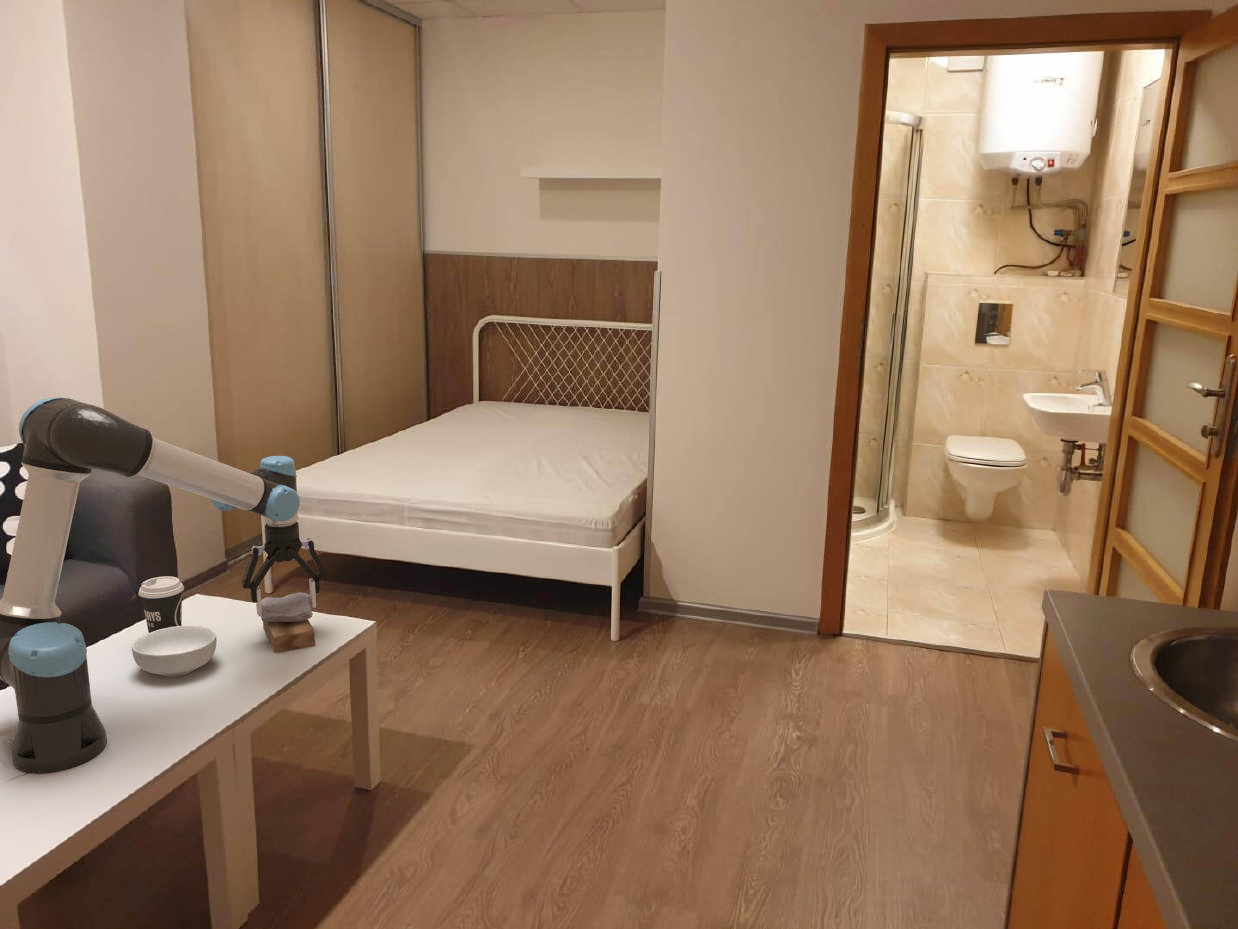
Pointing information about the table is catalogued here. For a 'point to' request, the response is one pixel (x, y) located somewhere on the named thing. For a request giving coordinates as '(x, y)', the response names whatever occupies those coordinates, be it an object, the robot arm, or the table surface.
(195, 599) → the table surface
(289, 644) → the walnut plinth
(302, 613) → the stone block
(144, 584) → the coffee cup
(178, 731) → the table surface
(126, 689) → the table surface
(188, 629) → the cereal bowl
